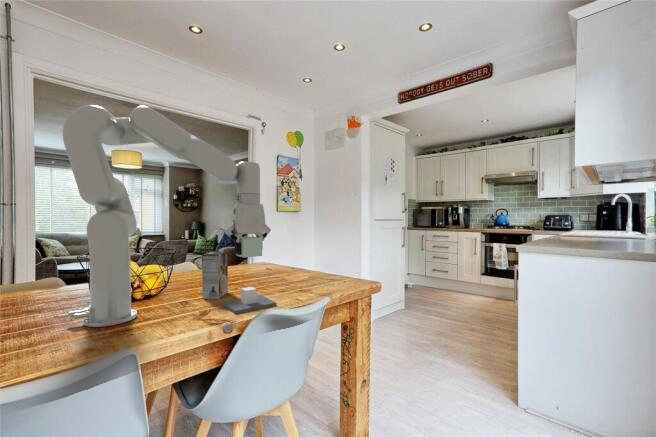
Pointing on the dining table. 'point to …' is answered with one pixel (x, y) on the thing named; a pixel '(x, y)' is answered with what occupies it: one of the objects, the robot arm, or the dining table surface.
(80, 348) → the dining table surface
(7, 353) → the dining table surface
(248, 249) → the square sleeve
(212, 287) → the coffee box
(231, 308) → the base
